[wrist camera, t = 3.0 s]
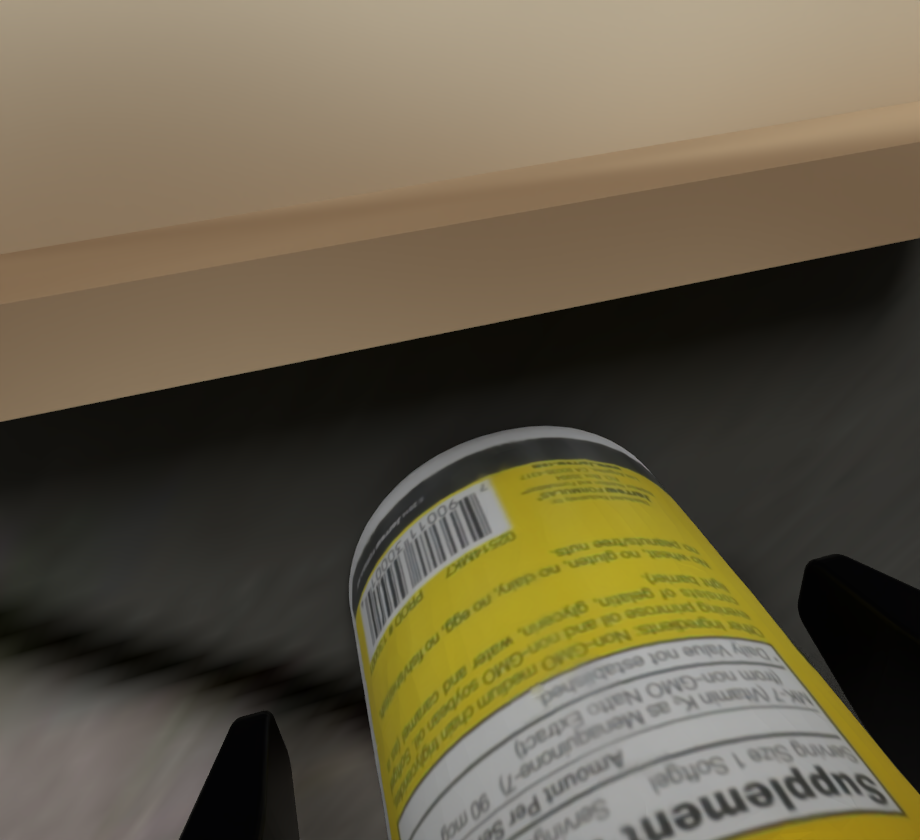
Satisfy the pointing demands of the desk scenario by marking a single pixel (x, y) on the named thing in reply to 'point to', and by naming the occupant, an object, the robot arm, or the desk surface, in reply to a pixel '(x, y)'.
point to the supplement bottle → (590, 665)
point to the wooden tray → (417, 169)
